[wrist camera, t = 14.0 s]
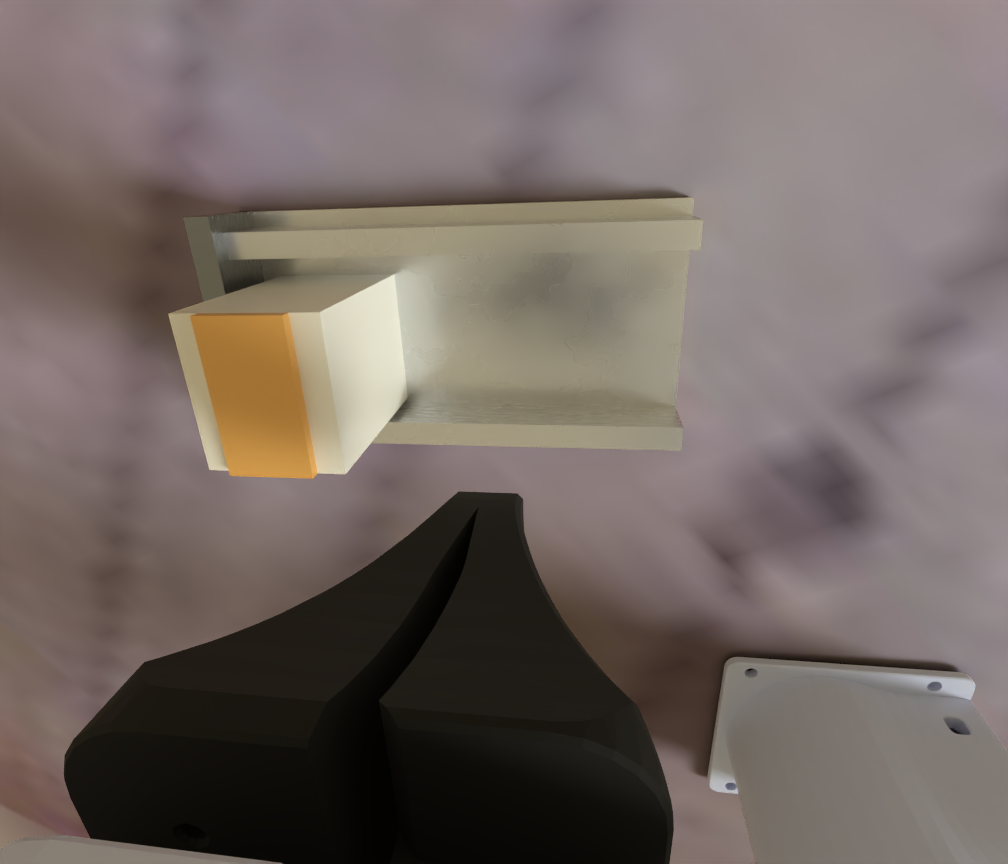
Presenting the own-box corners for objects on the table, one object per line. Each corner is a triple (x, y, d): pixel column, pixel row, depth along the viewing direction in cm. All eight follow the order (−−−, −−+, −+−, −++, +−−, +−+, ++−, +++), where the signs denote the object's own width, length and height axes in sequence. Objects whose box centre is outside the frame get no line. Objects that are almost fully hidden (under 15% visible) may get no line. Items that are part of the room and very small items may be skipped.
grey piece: (691, 196, 18) (709, 201, 15) (670, 434, 21) (682, 473, 18) (238, 211, 20) (183, 217, 17) (282, 426, 23) (241, 460, 20)
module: (394, 274, 19) (314, 315, 14) (407, 397, 21) (341, 479, 16) (282, 275, 20) (159, 316, 14) (304, 396, 22) (203, 475, 16)
